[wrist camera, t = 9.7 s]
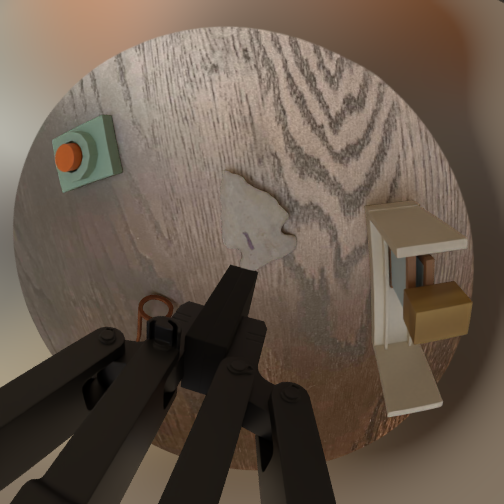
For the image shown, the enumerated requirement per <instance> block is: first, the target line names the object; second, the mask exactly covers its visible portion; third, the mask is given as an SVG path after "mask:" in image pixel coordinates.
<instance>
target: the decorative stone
mask: <svg viewBox="0 0 504 504" xmlns="http://www.w3.org/2000/svg"><path fill="white" fill-rule="evenodd" d="M220 199H221V205H222V208H221V218H220V219H221V220H222V238H223V241H224V244H225V246H226V247H227V248H231V249H238V250H240V251H241V252H242V259H241V261H240V267H241V268H245V269H249V270H252V271H254V270H256V269H258V268H260V267H263V266H264V265H266V264H268V263H269V262H271V261H273V260H277V259H280V258H282V257H284V256H285V255H287V254H288V253H290V252H292V251H293V250H295V248H296V242H297V240H296V237H295V236H294V235H285V234H283V233H282V232H281V228H282V226H283V224H284V223H285V222H286V221H287V220H288V213H287V212H286V211H285V210H284V209H283V208H282V207H281V206H280V205H279V204H278V202H277V200H276V199H275V198H273V197H271V196H270V195H269V193H267V192H263V191H261V190H260V189H257V188H254V187H253V186H251V185H250V184H248V183H247V182H246V181H245V179H244V178H243V177H241V176H240V175H238V174H232V173H230V172H229V171H227V170H223V171H222V180H221V186H220Z"/></svg>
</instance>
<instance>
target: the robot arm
mask: <svg viewBox="0 0 504 504" xmlns="http://www.w3.org/2000/svg"><path fill="white" fill-rule="evenodd" d="M257 275H258V272H256V271H252V270H249V269H245V268H241V267H237V266H233V265H230V266H229V268H228V269H227V271H226V273H225V274H224V276H223V277H222V279H221V280H220V282H219V283H218V285H217V287H216V288H215V290H214V291H213V293H212V294H211V296H210V297H209V299H208V301H207V302H206V304H205V305H204V306H203V305H200V304H197V303H193V302H190V301H188V302H186V303H184V304H182V305H181V306H180V307H179V308H178V310H177V311H176V313H174V315H173V316H172V318H170V317H165V316H157V317H153V318H151V319H149V320H148V321H147V339H146V340H145V341H144V342H136V341H129V340H125V337H124V335H123V333H122V332H121V331H120V330H118V329H116V328H112V327H102V328H99V329H97V330H95V331H93V332H92V333H90V334H88V335H86V336H85V337H83V338H81V339H80V340H78V341H76V342H75V343H73V344H71V345H70V346H68V347H66V348H65V349H63V350H61V351H60V352H58V353H57V354H55V355H53V356H52V357H50V358H48V359H47V360H45V361H43V362H42V363H40V364H39V365H37V366H35V367H33V368H32V369H30V370H28V371H27V372H25V373H24V374H22V375H20V376H19V377H17V378H16V379H14V380H12V381H10V382H9V383H7V384H6V385H4V386H2V387H1V388H0V491H1V490H2V489H4V488H5V487H6V486H8V485H9V484H10V483H12V482H13V481H14V480H16V479H17V478H18V477H20V476H21V475H22V474H24V473H25V472H26V471H27V470H29V469H30V468H31V467H33V466H34V465H35V464H37V463H38V462H39V461H40V460H42V459H43V458H44V457H46V456H47V455H48V454H49V453H51V452H52V451H53V450H54V449H56V448H57V447H58V446H59V445H61V444H62V443H63V442H65V441H66V440H67V439H68V438H70V437H71V436H72V435H73V434H74V435H73V436H72V437H71V439H70V440H69V441H68V443H67V444H66V446H65V447H64V449H63V450H62V451H61V452H60V454H59V456H58V457H57V458H56V459H55V461H54V462H53V464H52V465H51V466H50V468H49V469H48V471H47V472H46V473H45V475H44V476H43V477H42V478H40V479H31V480H29V481H28V482H26V483H25V484H24V485H23V486H22V487H21V489H20V490H19V492H18V493H17V495H16V496H15V497H14V499H13V500H12V502H11V503H10V504H120V502H121V500H122V498H123V496H124V494H125V492H126V490H127V489H128V487H129V485H130V483H131V481H132V479H133V477H134V475H135V473H136V471H137V470H138V468H139V466H140V464H141V462H142V460H143V458H144V456H145V454H146V452H147V451H148V448H149V447H150V445H151V443H152V441H153V439H154V437H155V435H156V433H157V431H158V430H159V428H160V426H161V424H162V422H163V420H164V418H165V416H166V414H167V412H168V410H169V409H170V407H171V405H172V403H173V401H174V399H175V397H176V394H177V386H178V384H179V382H180V381H181V387H183V388H186V389H189V390H192V391H195V392H198V393H202V394H205V395H206V396H205V399H204V401H203V403H202V406H201V408H200V410H199V413H198V415H197V417H196V419H195V422H194V424H193V426H192V429H191V431H190V433H189V435H188V438H187V440H186V442H185V445H184V447H183V449H182V451H181V454H180V456H179V458H178V460H177V463H176V465H175V467H174V470H173V472H172V474H171V476H170V479H169V481H168V483H167V485H166V488H165V490H164V492H163V494H162V496H161V499H160V501H159V503H158V504H218V503H219V500H220V497H221V494H222V490H223V487H224V484H225V481H226V477H227V474H228V471H229V467H230V464H231V461H232V457H233V454H234V451H235V447H236V444H237V440H238V437H239V433H240V430H241V426H242V427H244V428H245V429H247V430H249V431H251V432H253V433H254V434H256V435H255V439H256V452H257V464H258V476H259V487H260V499H261V504H336V501H335V497H334V493H333V489H332V485H331V481H330V477H329V472H328V468H327V464H326V460H325V456H324V452H323V448H322V444H321V440H320V436H319V432H318V428H317V425H316V421H315V417H314V413H313V409H312V405H311V401H310V397H309V395H308V393H307V391H306V390H305V389H304V388H303V387H302V386H300V385H298V384H296V383H292V382H281V383H279V384H276V385H274V384H272V383H270V382H268V381H267V380H265V379H264V378H263V377H262V376H261V375H260V373H259V371H258V363H259V359H260V355H261V351H262V347H263V343H264V339H265V335H266V331H267V328H266V325H265V322H264V321H260V320H257V319H253V318H249V317H248V314H249V309H250V305H251V301H252V296H253V292H254V288H255V283H256V279H257Z"/></svg>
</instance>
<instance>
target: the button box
mask: <svg viewBox="0 0 504 504" xmlns="http://www.w3.org/2000/svg"><path fill="white" fill-rule="evenodd" d="M52 143H53V149H54V155H56V151H57V149H58V148H59V147H60V146H61V145H62V144H68V143H76V144H77V145H79V147H80V148H81V151H82V162H81V164H80V166H79V167H78V168H77V169H76V170H73V171H68V172H62V171H60V170H59V169H58V167H57V165H56V168H57V171H58V175H59V179H60V184H61V188H62V192H63V193H64V192H67V191H70V190H73V189H76V188H79V187H82V186H84V185H87V184H90V183H93V182H96V181H98V180H101V179H104V178H107V177H110V176H113V175H116V174H119V173H122V167H121V162H120V158H119V153H118V148H117V143H116V138H115V133H114V127H113V122H112V116H111V115H101V116H98V117H96V118H94V119H92V120H90V121H88V122H86V123H84V124H82V125H80V126H78V127H76V128H74V129H72V130H70V131H68V132H66V133H64V134H62V135H61V136H59V137H57V138H55V139H53V140H52ZM55 163H56V162H55Z"/></svg>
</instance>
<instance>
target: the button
mask: <svg viewBox="0 0 504 504" xmlns="http://www.w3.org/2000/svg"><path fill="white" fill-rule="evenodd" d="M55 162H56V165H57V167H58V169H59V170H60V171H62V172H68V171H73V170H76V169H77V168H78V167H79V166H80V164H81V162H82V151H81V148H80V147H79V145H77V144H76V143H68V144H62V145H61V146H60V147H59V148H58V149H57V151H56V155H55Z"/></svg>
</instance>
